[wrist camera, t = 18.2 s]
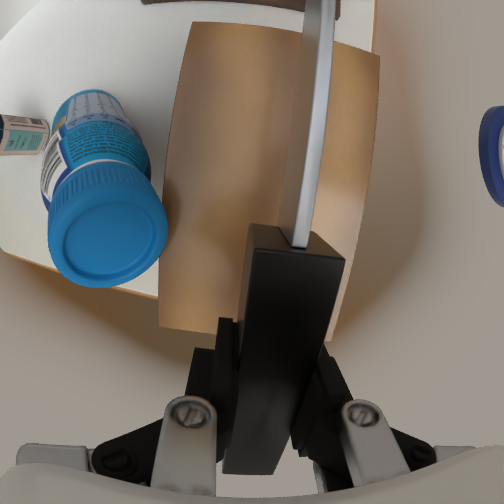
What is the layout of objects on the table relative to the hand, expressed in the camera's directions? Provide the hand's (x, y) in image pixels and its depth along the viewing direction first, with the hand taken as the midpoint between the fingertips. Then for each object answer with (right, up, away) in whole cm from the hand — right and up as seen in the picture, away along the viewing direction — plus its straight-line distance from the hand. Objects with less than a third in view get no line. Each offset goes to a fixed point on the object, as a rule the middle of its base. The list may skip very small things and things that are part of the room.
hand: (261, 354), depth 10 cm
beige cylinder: (-28, +19, +15) cm, 37 cm away
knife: (+1, +6, -2) cm, 6 cm away
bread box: (0, +12, +18) cm, 22 cm away
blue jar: (-18, +18, +13) cm, 28 cm away
